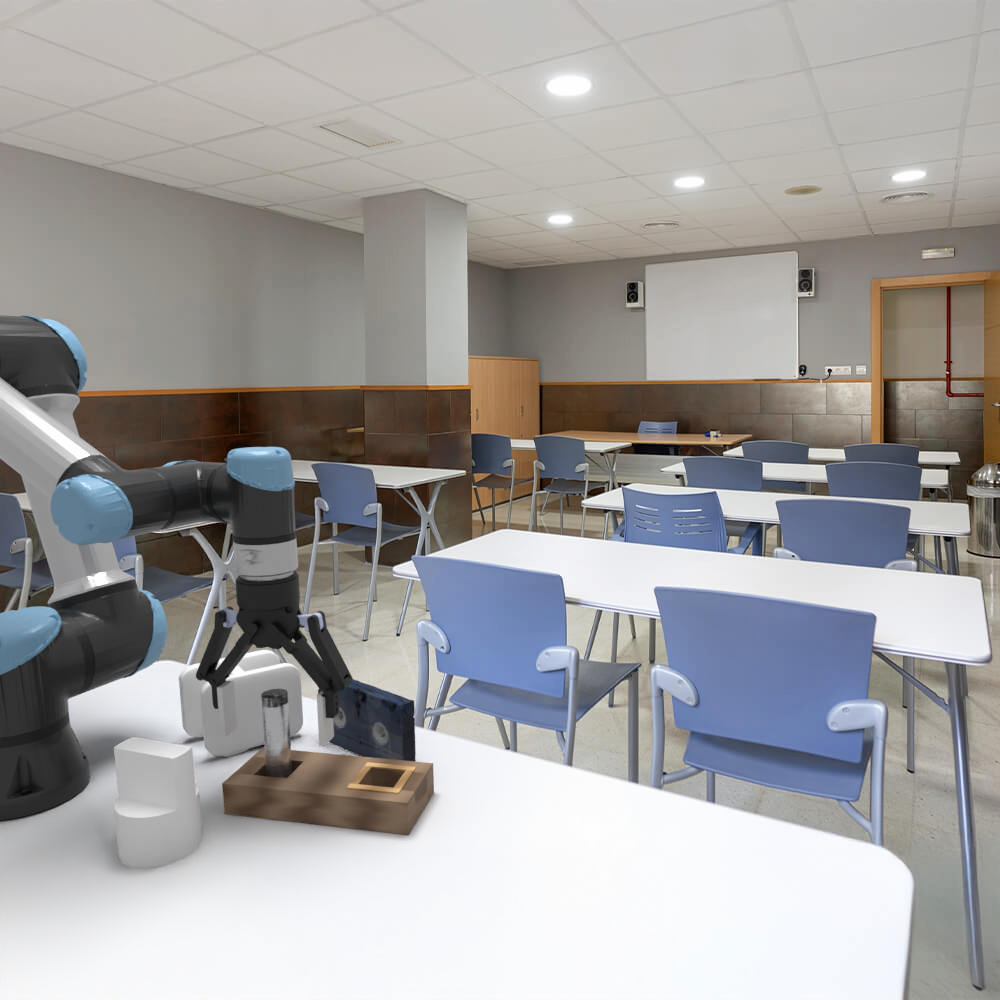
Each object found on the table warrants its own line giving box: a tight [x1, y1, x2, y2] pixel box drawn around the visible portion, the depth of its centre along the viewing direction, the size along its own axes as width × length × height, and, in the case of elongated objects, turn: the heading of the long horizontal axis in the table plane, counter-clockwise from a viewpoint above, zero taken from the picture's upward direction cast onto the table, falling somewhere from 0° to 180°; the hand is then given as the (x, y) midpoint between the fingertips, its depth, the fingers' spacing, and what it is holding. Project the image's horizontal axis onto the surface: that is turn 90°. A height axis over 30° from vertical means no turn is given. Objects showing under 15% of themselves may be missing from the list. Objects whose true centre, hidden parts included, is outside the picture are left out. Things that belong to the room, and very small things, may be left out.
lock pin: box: [261, 689, 292, 778], centre depth 103 cm, size 3×3×14 cm
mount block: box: [221, 747, 435, 836], centre depth 102 cm, size 24×10×4 cm, turn 77°
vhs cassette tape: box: [317, 678, 417, 762], centre depth 115 cm, size 18×3×10 cm, turn 49°
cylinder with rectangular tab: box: [113, 736, 203, 869], centre depth 93 cm, size 9×9×12 cm
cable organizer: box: [178, 649, 304, 758], centre depth 121 cm, size 15×11×12 cm
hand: (277, 736), depth 103 cm, fingers open, 13 cm apart
